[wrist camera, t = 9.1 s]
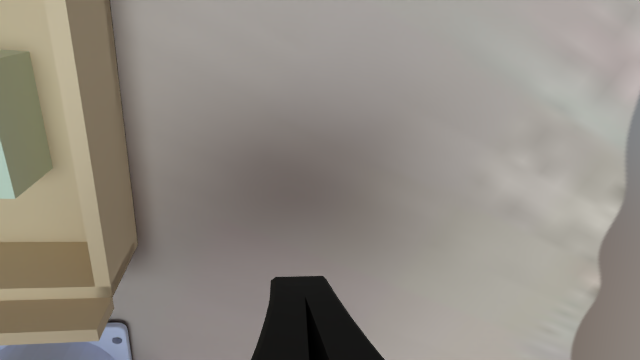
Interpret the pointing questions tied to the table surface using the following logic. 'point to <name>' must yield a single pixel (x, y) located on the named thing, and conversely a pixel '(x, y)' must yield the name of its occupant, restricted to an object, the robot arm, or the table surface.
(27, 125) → the packed item
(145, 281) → the table surface
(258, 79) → the table surface
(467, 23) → the table surface
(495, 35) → the table surface
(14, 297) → the beige shallow box
